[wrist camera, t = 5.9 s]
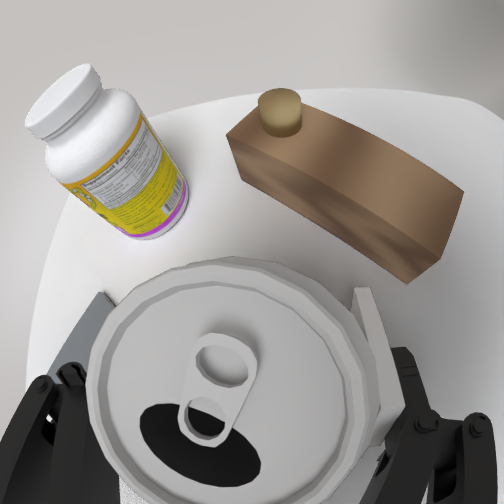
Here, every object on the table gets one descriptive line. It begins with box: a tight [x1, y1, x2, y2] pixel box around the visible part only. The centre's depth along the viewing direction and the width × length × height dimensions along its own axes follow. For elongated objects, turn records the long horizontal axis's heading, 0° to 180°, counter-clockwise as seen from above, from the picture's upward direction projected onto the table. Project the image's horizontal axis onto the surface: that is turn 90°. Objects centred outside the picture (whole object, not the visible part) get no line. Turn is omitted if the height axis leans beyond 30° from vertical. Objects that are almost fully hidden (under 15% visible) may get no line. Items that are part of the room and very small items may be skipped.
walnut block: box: [226, 88, 464, 284], centre depth 15 cm, size 14×5×7 cm, turn 51°
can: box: [85, 256, 380, 504], centre depth 10 cm, size 8×8×12 cm
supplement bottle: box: [25, 63, 188, 240], centre depth 15 cm, size 7×7×13 cm
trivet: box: [46, 292, 115, 384], centre depth 16 cm, size 10×10×1 cm
